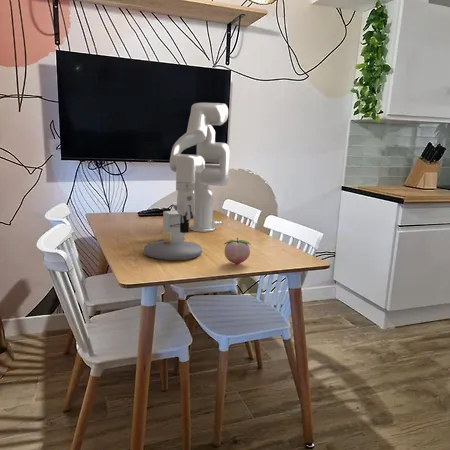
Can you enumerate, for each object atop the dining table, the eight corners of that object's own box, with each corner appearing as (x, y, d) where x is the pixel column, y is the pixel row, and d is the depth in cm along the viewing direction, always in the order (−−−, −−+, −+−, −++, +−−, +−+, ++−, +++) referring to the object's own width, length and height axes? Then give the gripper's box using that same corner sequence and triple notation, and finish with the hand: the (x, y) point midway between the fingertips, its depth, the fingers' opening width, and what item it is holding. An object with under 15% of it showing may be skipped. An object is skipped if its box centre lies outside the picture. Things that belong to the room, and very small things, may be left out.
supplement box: (168, 243, 170) (168, 213, 167) (162, 239, 176) (162, 210, 174) (184, 241, 173) (185, 213, 171) (178, 238, 180) (178, 210, 177)
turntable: (191, 242, 168) (191, 229, 167) (210, 257, 149) (210, 242, 148) (138, 246, 160) (138, 232, 159) (151, 261, 140) (151, 246, 139)
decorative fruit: (246, 260, 149) (247, 234, 147) (251, 267, 141) (252, 240, 139) (221, 261, 148) (222, 234, 146) (225, 268, 140) (226, 240, 138)
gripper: (200, 188, 153) (199, 235, 157) (188, 185, 167) (187, 228, 170) (182, 188, 150) (180, 236, 154) (171, 185, 164) (170, 229, 167)
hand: (184, 232), depth 162 cm, fingers closed
